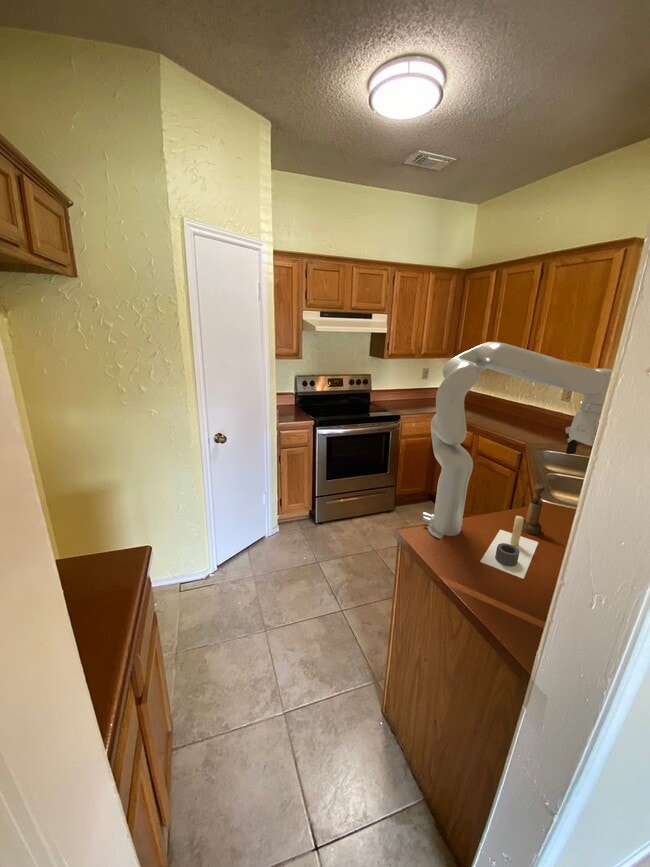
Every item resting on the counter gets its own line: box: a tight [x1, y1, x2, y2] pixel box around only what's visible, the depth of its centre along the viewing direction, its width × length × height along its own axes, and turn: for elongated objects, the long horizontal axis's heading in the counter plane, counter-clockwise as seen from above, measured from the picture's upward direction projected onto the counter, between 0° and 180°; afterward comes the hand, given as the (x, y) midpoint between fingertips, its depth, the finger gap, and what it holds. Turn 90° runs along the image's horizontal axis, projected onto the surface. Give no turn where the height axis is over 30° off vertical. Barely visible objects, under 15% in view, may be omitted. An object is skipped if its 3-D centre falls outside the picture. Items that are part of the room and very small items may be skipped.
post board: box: [480, 515, 539, 579], centre depth 114 cm, size 12×24×12 cm, turn 141°
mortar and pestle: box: [521, 483, 545, 536], centre depth 129 cm, size 7×6×18 cm
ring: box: [495, 543, 520, 567], centre depth 111 cm, size 6×6×4 cm
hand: (582, 458), depth 119 cm, fingers open, 9 cm apart
